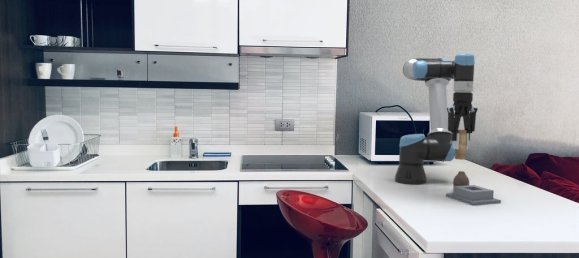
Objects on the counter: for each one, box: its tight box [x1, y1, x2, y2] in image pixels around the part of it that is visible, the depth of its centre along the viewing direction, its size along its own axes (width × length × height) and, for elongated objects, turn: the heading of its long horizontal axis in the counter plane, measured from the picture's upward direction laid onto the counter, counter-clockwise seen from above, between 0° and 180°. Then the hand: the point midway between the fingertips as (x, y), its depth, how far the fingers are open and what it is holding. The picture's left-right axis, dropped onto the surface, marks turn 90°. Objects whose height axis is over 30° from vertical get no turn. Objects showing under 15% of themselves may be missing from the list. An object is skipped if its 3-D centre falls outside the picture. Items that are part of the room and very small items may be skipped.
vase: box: [452, 170, 470, 187], centre depth 202 cm, size 7×7×9 cm
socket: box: [445, 184, 502, 206], centre depth 186 cm, size 16×14×5 cm
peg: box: [454, 129, 467, 161], centre depth 185 cm, size 4×4×12 cm
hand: (460, 148), depth 185 cm, fingers closed on peg, 4 cm apart
